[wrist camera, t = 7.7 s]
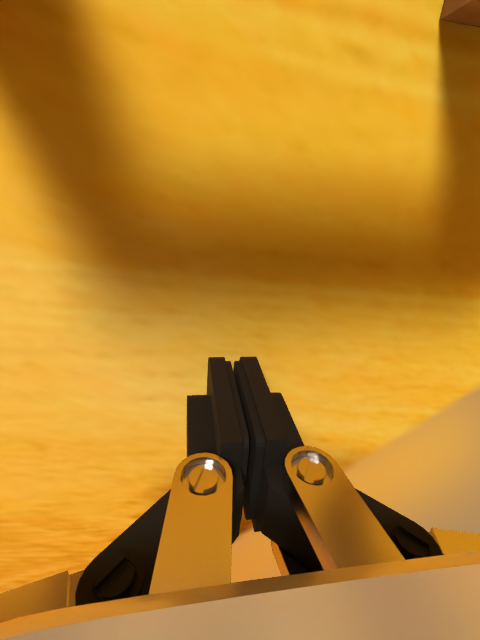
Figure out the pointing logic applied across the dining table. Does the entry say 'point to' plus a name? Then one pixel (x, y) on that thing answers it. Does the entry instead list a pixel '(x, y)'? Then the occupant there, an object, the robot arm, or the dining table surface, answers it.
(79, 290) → the dining table surface
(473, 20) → the bridge
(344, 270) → the dining table surface
